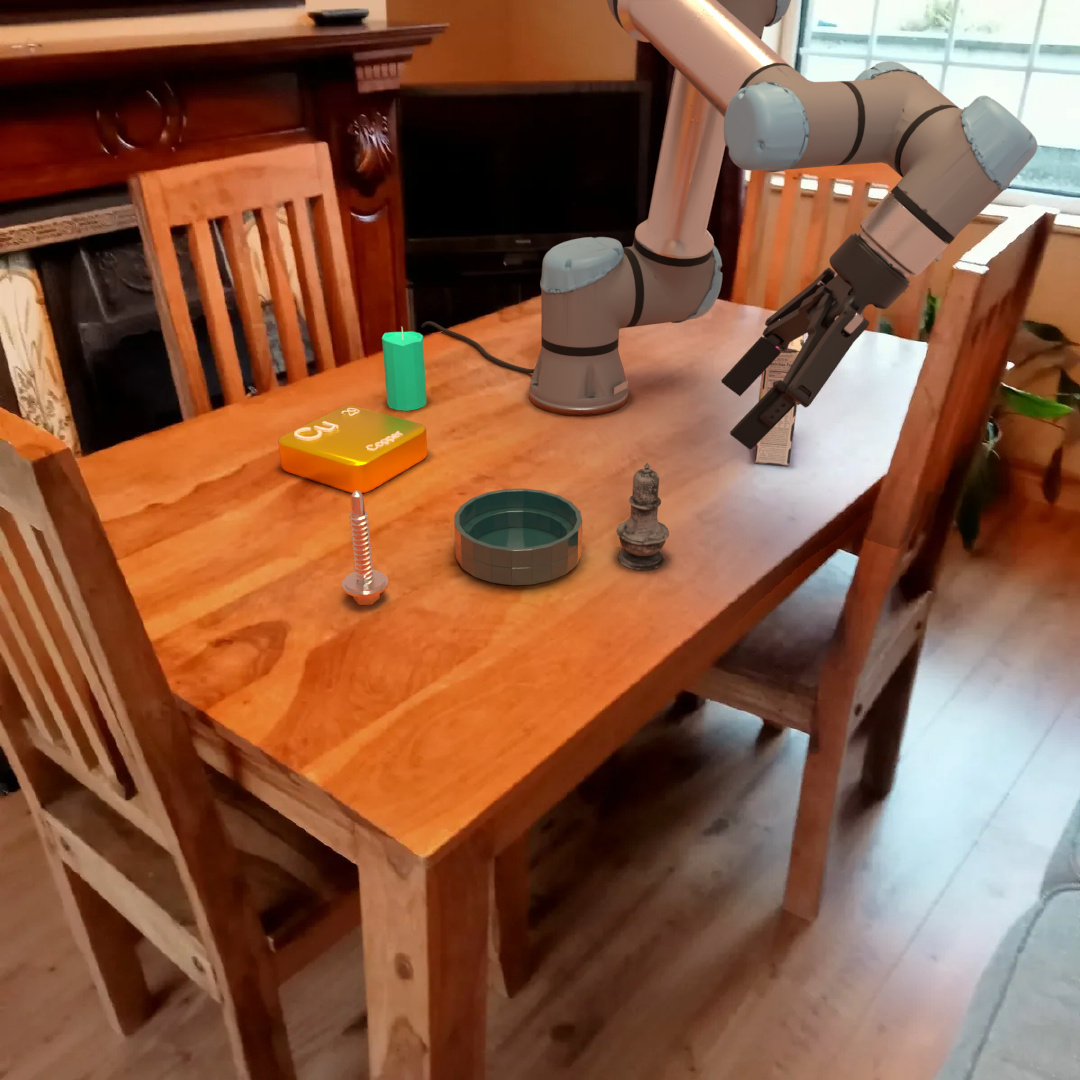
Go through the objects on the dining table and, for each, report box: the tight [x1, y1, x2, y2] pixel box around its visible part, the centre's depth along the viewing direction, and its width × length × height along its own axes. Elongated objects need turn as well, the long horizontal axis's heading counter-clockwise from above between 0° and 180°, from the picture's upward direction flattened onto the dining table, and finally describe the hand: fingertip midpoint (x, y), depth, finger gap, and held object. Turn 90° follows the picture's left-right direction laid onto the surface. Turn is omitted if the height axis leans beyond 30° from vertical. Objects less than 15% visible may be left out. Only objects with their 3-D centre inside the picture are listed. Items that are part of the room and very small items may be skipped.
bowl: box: [453, 488, 583, 586], centre depth 114 cm, size 14×14×5 cm
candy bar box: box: [754, 334, 805, 467], centre depth 136 cm, size 11×5×16 cm, turn 168°
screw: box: [341, 490, 389, 606], centre depth 104 cm, size 13×5×5 cm
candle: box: [381, 326, 428, 412], centre depth 151 cm, size 6×6×12 cm
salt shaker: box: [616, 462, 670, 571], centre depth 112 cm, size 6×6×12 cm
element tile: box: [277, 404, 429, 494], centre depth 135 cm, size 15×15×5 cm
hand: (734, 413), depth 107 cm, fingers open, 13 cm apart
